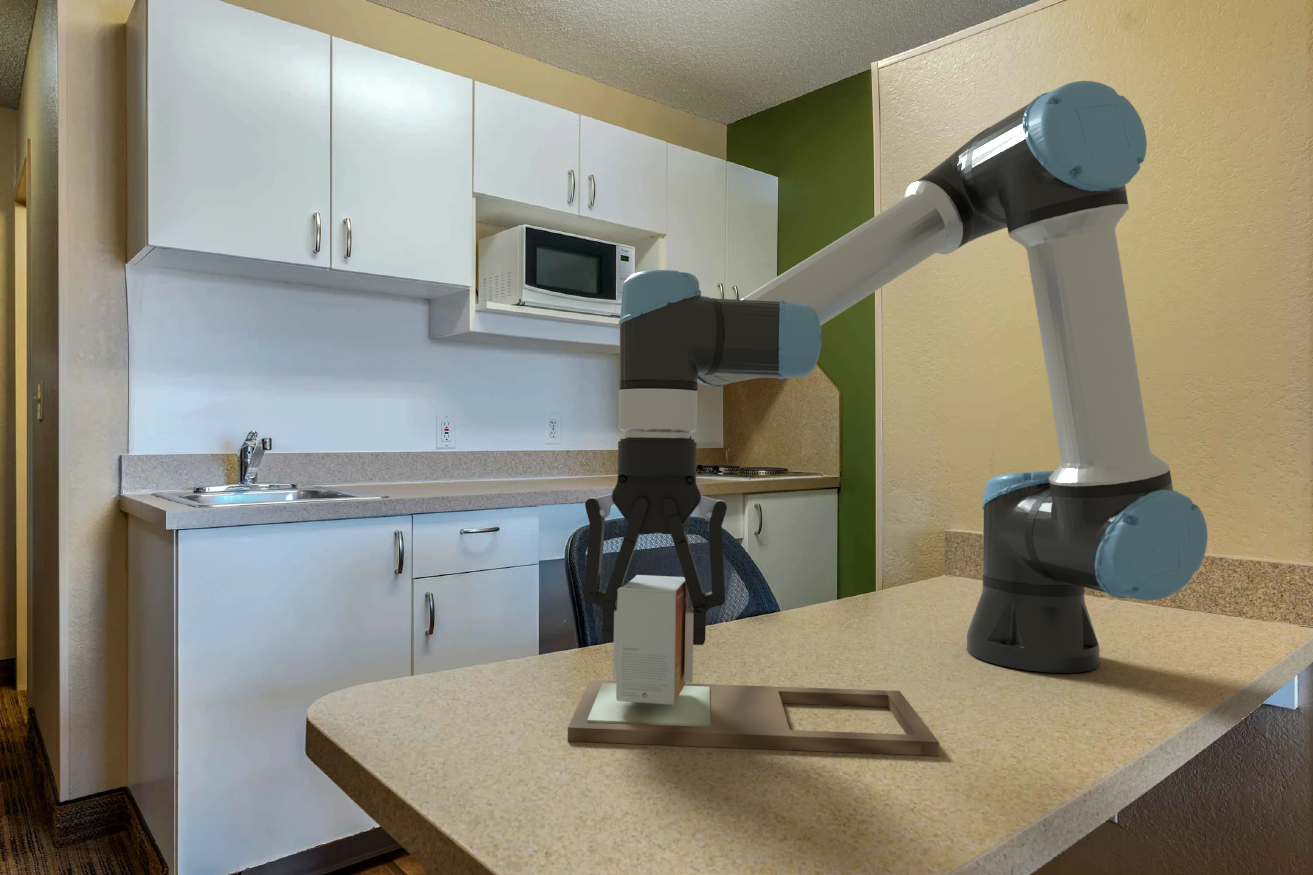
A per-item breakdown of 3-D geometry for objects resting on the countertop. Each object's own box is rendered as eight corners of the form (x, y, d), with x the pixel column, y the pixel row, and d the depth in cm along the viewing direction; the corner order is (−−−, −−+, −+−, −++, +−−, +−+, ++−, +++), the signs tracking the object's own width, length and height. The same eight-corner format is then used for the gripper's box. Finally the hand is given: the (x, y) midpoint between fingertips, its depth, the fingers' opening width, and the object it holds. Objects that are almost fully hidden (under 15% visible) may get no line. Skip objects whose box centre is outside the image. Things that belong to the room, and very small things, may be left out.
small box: (674, 707, 74) (676, 590, 74) (614, 702, 75) (616, 587, 75) (688, 681, 82) (690, 576, 82) (634, 677, 83) (635, 573, 83)
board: (899, 702, 84) (899, 688, 84) (938, 755, 70) (938, 739, 70) (589, 691, 86) (589, 677, 86) (567, 740, 72) (567, 725, 72)
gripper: (754, 437, 81) (750, 668, 81) (565, 434, 83) (561, 662, 83) (760, 437, 74) (755, 692, 74) (551, 434, 75) (547, 685, 75)
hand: (653, 676), depth 78 cm, fingers closed on small box, 6 cm apart
